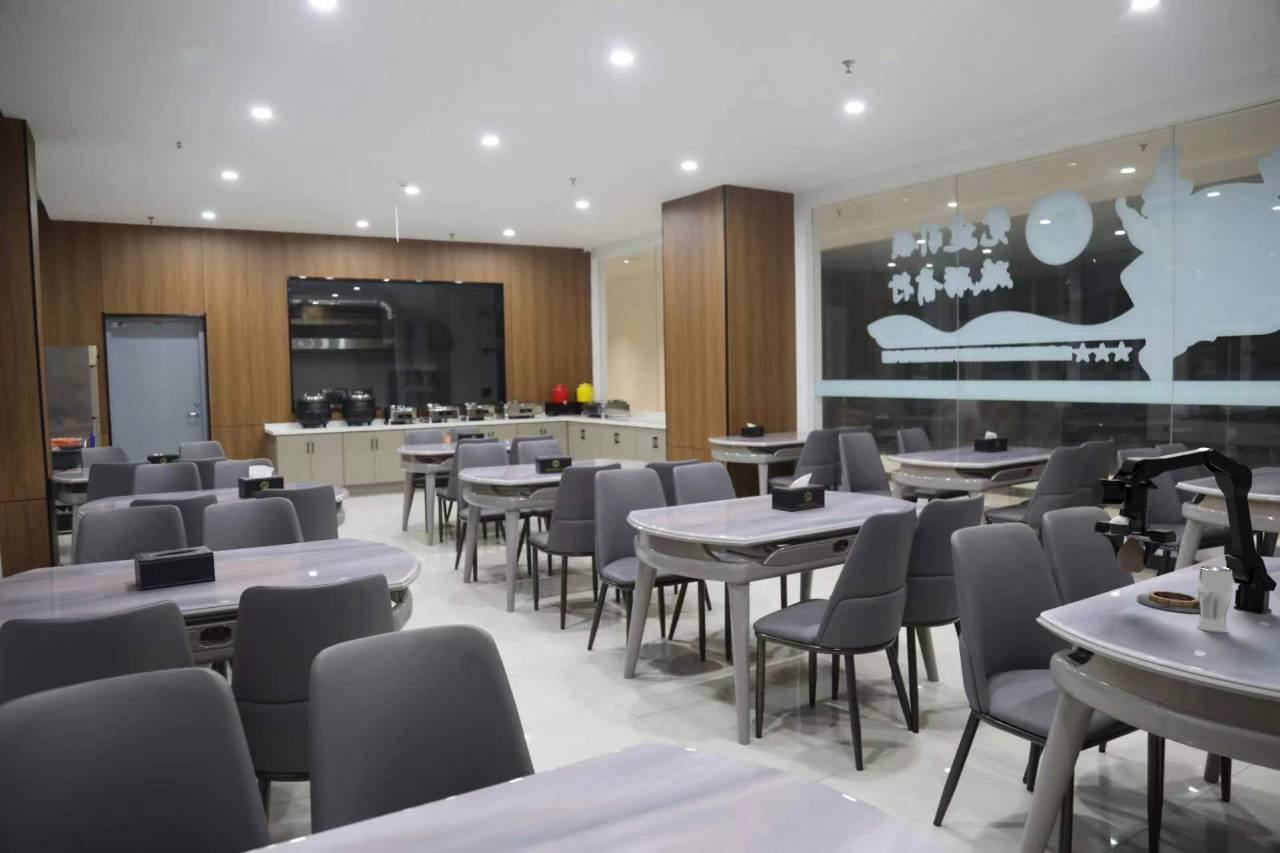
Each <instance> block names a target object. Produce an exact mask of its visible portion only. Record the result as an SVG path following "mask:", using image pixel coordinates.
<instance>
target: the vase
mask: <svg viewBox="0 0 1280 853" xmlns="http://www.w3.org/2000/svg"><path fill="white" fill-rule="evenodd" d="M1144 555H1145V546H1143V544H1142V543H1141V541H1140V540H1139V538H1137V537H1128V538H1127V540H1126V541H1124V544H1123V545H1122V546H1121V547H1120V549H1119V551H1118V555H1117V558H1116V561H1117V560H1118V561H1117V563H1118V567H1120V569H1121V570H1122V571H1124V572H1127V573H1132V574H1133V573H1134V574H1136V573H1137V574H1138V573H1141V572H1142V571H1144V570H1145V569H1146V567H1145V566H1144Z"/></svg>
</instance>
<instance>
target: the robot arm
mask: <svg viewBox="0 0 1280 853" xmlns="http://www.w3.org/2000/svg"><path fill="white" fill-rule="evenodd" d="M1197 466H1198V467H1199V466H1203V467H1204V468H1205V469H1206V470H1207V471H1209V472H1210V473H1211V474H1213V476H1214V479H1215V483H1216V485H1217V487H1218V489H1219V490H1220V491H1221V493H1222V494H1223V495H1224V498H1225V504H1226V505H1225V506H1226V511H1227V517H1228V524H1229V525H1228V526H1229V531H1230V536H1231V537H1230V539H1231V544H1232V550H1231V552H1230V554H1225V555H1224V561H1225V564H1226V567H1225V568H1228V569H1231V570H1232V579H1233V583H1234V584H1238V585H1237V589H1236V590H1235V594H1234V595H1235V598H1234V606H1233V609H1236V610H1237V609H1238V610H1242V611H1245V612H1251V613H1255V614H1260V615H1261V614H1266V613H1269V612H1272V611H1273V610H1272V608H1269V607H1270V596H1271V595H1270V594H1271V593H1270V592H1274V591H1275V589H1276V587H1277V585H1278V583H1277V582H1276V581H1275V580H1274V578H1272V576H1270V575H1269V574H1268V570H1267V566H1266V564H1265V561H1264V559H1263V557H1262V555H1260V553H1259V552H1258V550H1257V549H1256V543H1255V537H1254V530H1253V524H1252V518H1251V510H1250V505H1249V499H1248V497H1249V493H1250V491H1251V489H1252V488H1253V487H1252V486H1253V470H1252V469H1251V467H1249V466H1248V465H1246V464H1244V463H1239V462H1237V461H1235V460H1234V459H1232V458H1230V457H1227V456H1226V455H1224V454H1222V453H1221V452H1219V451H1218V450H1217V449H1214V448H1212V447H1200V448H1196V449H1193V450H1188V451H1181V452H1176V453H1172V454H1166V455H1161V456H1129V457H1126V458H1125V459H1124V460H1123V462H1122V463H1121V467H1120V468H1119V469H1118V470H1117V471H1116V473H1115V474H1114V476H1112V478H1111V479H1105V478H1097V481H1096V482H1097V483H1095V484H1094V486H1093V488H1092V490H1091V496H1092V501H1093V502H1094V503H1095V504H1096V505H1105V506H1106V505H1107V506H1108V505H1109V506H1110V505H1111V506H1120V505H1122V507H1121V508H1120V509H1119V513H1118V515H1117V516H1115V517H1114V518H1112V519H1111V520H1097V521H1095V523H1094V527H1093V531H1094V532H1095V533H1100V534H1101V533H1102V536H1103V537H1105V538H1107V539H1108V541H1109V542H1110V545H1111V546H1112V548H1113V552H1114V555H1115V558H1116V561H1117V562H1118V560H1117V555H1118V551H1119V549H1120V547H1121V546H1122V545H1123V544H1124V543H1125V537H1129V536H1130V535H1132V536H1138V537H1144V538H1145V537H1146V538H1147V540H1144V541H1143V544H1144V549H1145V555H1144V566H1145V568H1147V567H1148V566H1149V565H1150V563H1151V561H1152V559H1153V557H1155V555H1156V553H1157V551H1158V550H1159V549H1160V547H1161V546H1162V545H1165V544H1168V543H1169V544H1170V543H1175V542H1177V534H1176V532H1175V531H1174V530H1171V529H1166V528H1165V529H1164V528H1157V529H1150V528H1151V526H1150V524H1148V516H1149V514H1151V509H1149V496H1150V495H1149V494H1150V490H1158V489H1159V486H1158V485H1156V484H1155V483H1154V482H1153V480H1152V479H1154V478H1158V477H1159V476H1160V475H1162V474H1164V473H1166V472H1170V471H1171V472H1172V471H1178V470H1181V469H1187V468H1192V467H1197Z"/></svg>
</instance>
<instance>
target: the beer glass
mask: <svg viewBox="0 0 1280 853" xmlns="http://www.w3.org/2000/svg"><path fill="white" fill-rule="evenodd" d="M1233 583H1234V580H1233V576H1232V570H1231V569H1228V568H1226V567H1222V566H1217V565H1215V566H1214V565H1201V566H1199V572H1198V580H1197V596H1198V598H1199V603H1200V613H1199V619H1198V623H1197V628H1198V629H1199V630H1201V631H1205V632H1208V633H1209V632H1210V633H1217V634H1226V633H1228V627H1227V626H1228V625H1227V615H1228V614H1227V613H1228V610H1229V606H1230V602H1231V600H1232V595H1233V594H1232V593H1233Z"/></svg>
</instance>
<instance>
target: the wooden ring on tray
mask: <svg viewBox="0 0 1280 853" xmlns="http://www.w3.org/2000/svg"><path fill="white" fill-rule="evenodd" d="M1136 601H1137V603H1140V604H1141V605H1143V606H1147V607H1149V606H1150V608H1152V607H1153V608H1152V609H1156V608H1158V610H1161V609H1162V610H1161V611H1167V612H1172V611H1173V613H1183V614H1200V603H1199V597H1196V596H1194V595H1192V594H1186V593H1182V592H1178V591H1177V592H1176V591H1170V590H1152V591H1148V593H1142V594H1139V595H1137V596H1136Z"/></svg>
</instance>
